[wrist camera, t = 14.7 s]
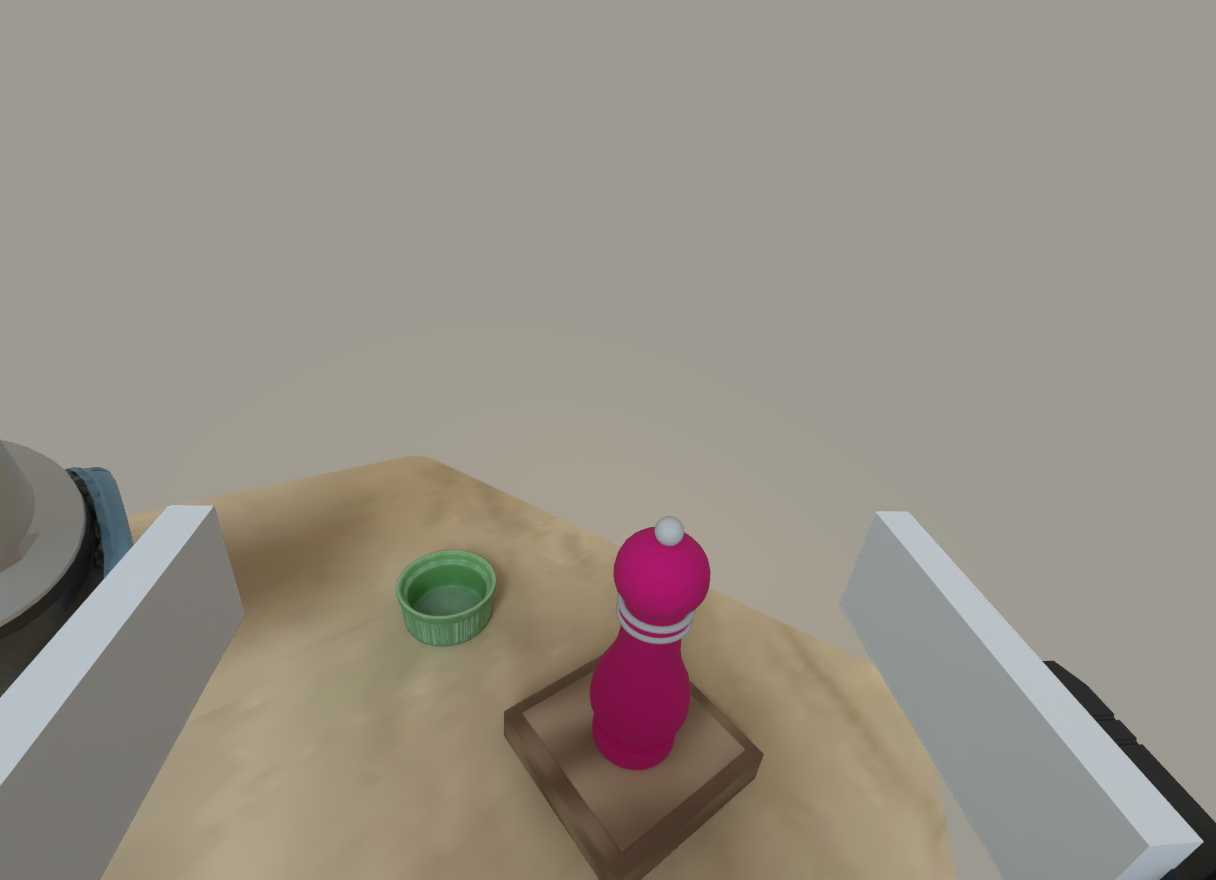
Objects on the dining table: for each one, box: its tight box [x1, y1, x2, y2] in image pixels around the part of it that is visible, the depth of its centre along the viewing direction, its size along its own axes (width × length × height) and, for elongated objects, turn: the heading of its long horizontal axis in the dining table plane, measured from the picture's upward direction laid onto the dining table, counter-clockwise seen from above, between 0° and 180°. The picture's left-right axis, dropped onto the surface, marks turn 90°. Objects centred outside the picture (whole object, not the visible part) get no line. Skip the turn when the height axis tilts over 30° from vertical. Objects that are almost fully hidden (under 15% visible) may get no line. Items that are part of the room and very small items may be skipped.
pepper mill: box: [590, 516, 710, 770], centre depth 40 cm, size 7×7×20 cm
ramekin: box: [396, 550, 496, 646], centre depth 57 cm, size 9×9×4 cm
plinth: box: [504, 655, 764, 880], centre depth 46 cm, size 14×14×3 cm
